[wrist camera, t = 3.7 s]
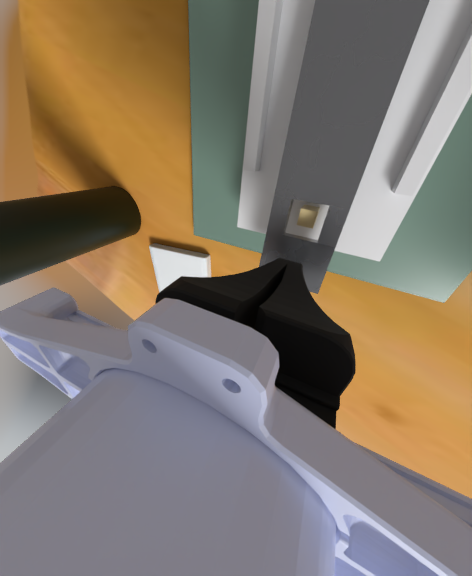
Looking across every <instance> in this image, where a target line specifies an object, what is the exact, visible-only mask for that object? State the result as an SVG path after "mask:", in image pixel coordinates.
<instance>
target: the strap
mask: <svg viewBox="0 0 472 576" xmlns="http://www.w3.org/2000/svg"><path fill="white" fill-rule="evenodd" d="M429 1H430V0H315V4H314V9H313V14H312V19H311V23H310V28H309V33H308V38H307V42H306V47H305V52H304V57H303V61H302V66H301V71H300V75H299V80H298V85H297V90H296V94H295V99H294V104H293V109H292V113H291V118H290V123H289V128H288V132H287V137H286V142H285V147H284V151H283V156H282V161H281V165H280V170H279V175H278V180H277V184H276V189H275V194H274V199H273V203H272V208H271V213H270V218H269V222H268V227H267V232H266V237H265V241H264V246H263V251H262V255H261V260H260V265H259V267H261V266H263V265H265V264H267V263H270V262H272V261H274V260H276V259H278V258H283V259H286V260H290V261H294V262H297V263H301V264H302V265H303V275H304V279H305V282H306V285H307V287H308V290H309V291H310V292H313V293H317V294H318V292H319V289H320V287H321V284H322V281H323V279H324V276H325V274H326V271H327V268H328V266H329V263H330V260H331V258H332V255H333V253H334V250H335V247H336V245H337V242H338V239H339V237H340V234H341V232H342V229H343V226H344V224H345V221H346V218H347V216H348V213H349V211H350V208H351V205H352V203H353V200H354V198H355V195H356V192H357V190H358V187H359V184H360V182H361V179H362V177H363V174H364V171H365V169H366V166H367V163H368V161H369V158H370V156H371V153H372V150H373V148H374V145H375V142H376V140H377V137H378V135H379V132H380V129H381V127H382V124H383V121H384V119H385V116H386V114H387V111H388V108H389V106H390V103H391V100H392V98H393V95H394V93H395V90H396V87H397V85H398V82H399V79H400V77H401V74H402V72H403V69H404V66H405V64H406V61H407V59H408V56H409V53H410V51H411V48H412V45H413V43H414V40H415V38H416V35H417V32H418V30H419V27H420V24H421V22H422V19H423V17H424V14H425V11H426V9H427V6H428V3H429ZM294 199H296V200H301V201H307V202H312V203H318V204H323V205H329V209H328V212H327V215H326V218H325V221H324V224H323V227H322V230H321V233H320V236H319V239H318V240H315V239H311V238H307V237H302V236H298V235H294V234H289V233H285V232H286V228H287V224H288V220H289V216H290V212H291V208H292V204H293V200H294Z"/></svg>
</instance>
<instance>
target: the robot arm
mask: <svg viewBox="0 0 472 576" xmlns="http://www.w3.org/2000/svg"><path fill="white" fill-rule="evenodd" d="M0 338H1V339H2V340H3V341H4V342H5V344H6V345H7V346H8V347H9V349H10V350H11V351H12V352H13V354H14V355H15V356H16V357H17V358H18V359H19V360H20V361H21V362H23V363H24V364H26V365H27V366H29V367H30V368H32V369H33V370H34V371H36V372H37V373H39V374H40V375H41V376H43V377H44V378H45V379H47V380H48V381H50V382H51V383H52V384H53V385H54V386H56V387H57V388H58V389H60V390H61V391H62V392H63V393H65V394H66V395H67V396H68V397H70V398H71V400H70V401H69V402H68V403H67V404H66V405H65V406H64V407H63V408H61V409H60V410H59V411H58V412H57V413H56V414H55V415H54V416H52V417H51V418H50V419H49V420H48V421H47V422H46V423H45V424H44V425H42V426H41V427H40V428H39V429H38V430H37V431H36V432H35V433H33V434H32V435H31V436H30V437H29V438H28V439H27V440H26V441H24V442H23V443H22V444H21V445H20V446H19V447H18V448H17V449H16V450H14V451H13V452H12V453H11V454H10V455H9V456H8V457H7V458H5V459H4V460H3V461H2V462H1V463H0V576H472V499H471V498H469V497H467V496H464V495H462V494H460V493H458V492H456V491H454V490H452V489H450V488H448V487H446V486H444V485H442V484H440V483H437V482H435V481H433V480H431V479H429V478H427V477H425V476H423V475H421V474H419V473H417V472H415V471H413V470H410V469H408V468H406V467H404V466H402V465H400V464H398V463H396V462H394V461H392V460H390V459H388V458H386V457H383V456H381V455H379V454H377V453H375V452H373V451H371V450H369V449H367V448H365V447H363V446H361V445H358V444H356V443H354V442H352V441H351V440H349V439H348V438H347V437H345V436H344V435H343V434H341V433H340V432H338V431H337V430H336V429H335V428H336V411H337V410H338V409H339V406H340V395H341V394H342V393H343V391H344V390H345V389H346V387H347V386H348V384H349V383H350V382H351V380H352V379H353V376H354V374H355V354H354V349H353V345H352V340H351V336H350V334H349V333H348V332H346V331H345V330H344V329H343V328H341V327H340V326H339V325H337V324H336V323H335V322H334V321H333V320H331V319H330V318H329V317H328V316H327V315H326V314H325V313H324V312H323V311H322V310H321V308H320V307H319V306H318V305H317V303H316V302H315V301H314V299H313V298H312V296H311V294H310V292H309V290H308V287H307V285H306V282H305V279H304V275H303V265H302V264H301V263H297V262H294V261H290V260H286V259H283V258H278V259H276V260H274V261H272V262H270V263H267V264H265V265H263V266H261V267H258V268H255V269H253V270H250V271H247V272H243V273H239V274H235V275H228V276H221V277H186V276H181V277H179V278H178V279H177V280H175V281H174V282H173V283H171V284H170V285H169V286H167V287H166V288H165V289H163V290H162V291H161V292H160V293H159V294H158V295H157V298H156V304H155V305H154V306H153V307H151V308H150V309H149V310H148V311H146V312H145V313H144V314H142V315H141V316H140V317H139V318H137V319H136V320H135V321H134V322H132V323H131V324H130V325H129V326H128V330H124V329H117V328H115V327H113V326H111V325H109V324H107V323H105V322H103V321H101V320H99V319H97V318H95V317H92V316H90V315H88V314H86V313H84V312H82V311H80V310H78V305H77V303H76V301H75V299H74V298H73V297H72V296H71V295H69V294H67V293H65V292H63V291H61V290H59V289H56V288H51V289H49V290H46V291H45V292H42V293H40V294H38V295H35V296H33V297H31V298H29V299H27V300H24V301H22V302H20V303H18V304H16V305H13V306H11V307H9V308H7V309H5V310H2V311H0Z"/></svg>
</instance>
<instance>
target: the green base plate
mask: <svg viewBox="0 0 472 576" xmlns="http://www.w3.org/2000/svg"><path fill="white" fill-rule="evenodd" d="M314 4H315V0H188V10H189V52H190V93H191V135H192V177H193V218H194V235H196V236H200V237H204V238H207V239H211V240H215V241H218V242H222V243H226V244H229V245H233V246H237V247H240V248H244V249H248V250H251V251H255V252H259V253H262V251H263V246H264V241H265V237H266V232H267V227H268V222H269V218H270V213H271V208H272V203H273V199H274V194H275V189H276V184H277V180H278V175H279V170H280V165H281V161H282V156H283V151H284V147H285V142H286V137H287V132H288V128H289V123H290V118H291V113H292V109H293V104H294V99H295V94H296V90H297V85H298V80H299V75H300V71H301V66H302V61H303V57H304V52H305V47H306V42H307V38H308V33H309V28H310V23H311V19H312V14H313V9H314ZM328 209H329V205H323V204H318V203H312V202H307V201H301V200H296V199H294V200H293V204H292V208H291V212H290V216H289V220H288V224H287V228H286V232H285V233H289V234H294V235H298V236H302V237H307V238H311V239H315V240H318V239H319V236H320V233H321V230H322V227H323V224H324V221H325V218H326V215H327V212H328ZM327 271H329V272H333V273H336V274H340V275H344V276H347V277H351V278H355V279H358V280H362V281H366V282H369V283H373V284H377V285H380V286H384V287H388V288H391V289H395V290H399V291H402V292H406V293H410V294H414V295H417V296H421V297H425V298H428V299H432V300H436V301H439V302H443V303H444V302H445V301H446V300H447V299H448V298H449V297H450V295H451V294H452V293H453V292H454V291H455V290H456V288H457V287H458V286H459V285H460V284H461V282H462V281H463V280H464V279H465V278H466V277H467V275H468V274H469V273H470V272H471V271H472V0H430V1H429V3H428V6H427V9H426V11H425V14H424V17H423V19H422V22H421V24H420V27H419V30H418V32H417V35H416V38H415V40H414V43H413V45H412V48H411V51H410V53H409V56H408V59H407V61H406V64H405V66H404V69H403V72H402V74H401V77H400V79H399V82H398V85H397V87H396V90H395V93H394V95H393V98H392V100H391V103H390V106H389V108H388V111H387V114H386V116H385V119H384V121H383V124H382V127H381V129H380V132H379V135H378V137H377V140H376V142H375V145H374V148H373V150H372V153H371V156H370V158H369V161H368V163H367V166H366V169H365V171H364V174H363V177H362V179H361V182H360V184H359V187H358V190H357V192H356V195H355V198H354V200H353V203H352V205H351V208H350V211H349V213H348V216H347V218H346V221H345V224H344V226H343V229H342V232H341V234H340V237H339V239H338V242H337V245H336V247H335V250H334V253H333V255H332V258H331V260H330V263H329V266H328V268H327Z"/></svg>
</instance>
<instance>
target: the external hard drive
mask: <svg viewBox="0 0 472 576" xmlns="http://www.w3.org/2000/svg"><path fill="white" fill-rule="evenodd" d="M149 248H150V253H151V257H152V262H153V266H154V270H155V275H156V279H157V284H158V288H159V292H161V291H162V290H163V289H165V288H166V287H167V286H169V285H170V284H171V283H173V282H174V281H175V280H177V279H178V278H179V277H181V276H186V277H211V262H210V255H208V254H203V253H199V252H194V251H189V250H184V249H180V248H175V247H170V246H165V245H161V244H156V243H153V244H151V245H149Z"/></svg>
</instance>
